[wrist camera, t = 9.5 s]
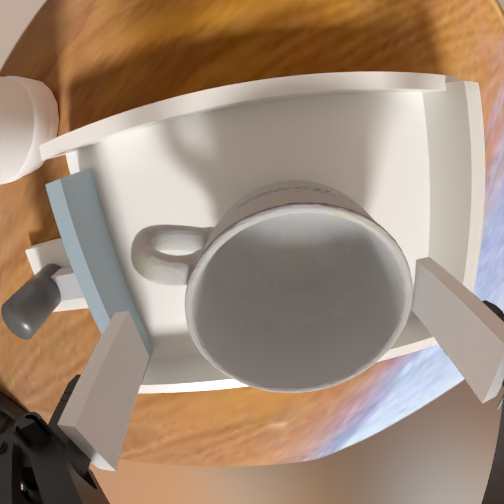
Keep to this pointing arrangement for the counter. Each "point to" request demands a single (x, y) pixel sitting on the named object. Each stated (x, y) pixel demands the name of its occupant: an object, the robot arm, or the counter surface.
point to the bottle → (24, 125)
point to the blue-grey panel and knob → (76, 265)
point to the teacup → (286, 286)
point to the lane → (283, 169)
